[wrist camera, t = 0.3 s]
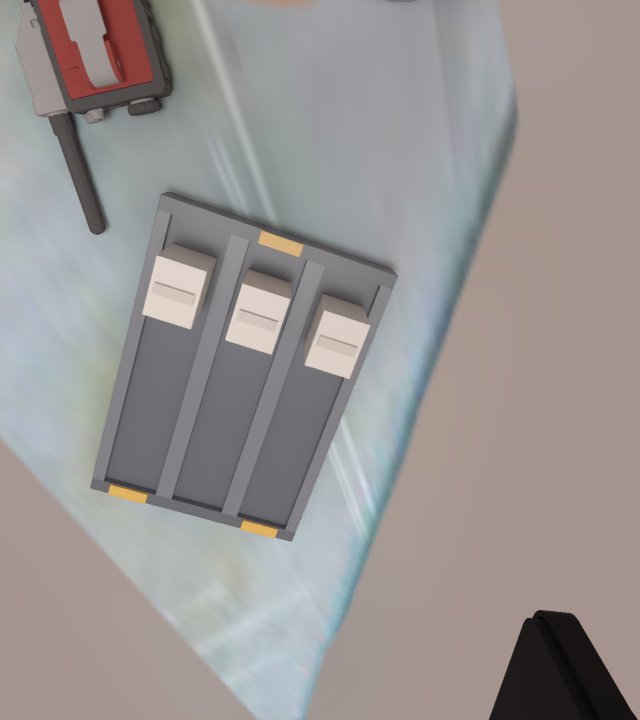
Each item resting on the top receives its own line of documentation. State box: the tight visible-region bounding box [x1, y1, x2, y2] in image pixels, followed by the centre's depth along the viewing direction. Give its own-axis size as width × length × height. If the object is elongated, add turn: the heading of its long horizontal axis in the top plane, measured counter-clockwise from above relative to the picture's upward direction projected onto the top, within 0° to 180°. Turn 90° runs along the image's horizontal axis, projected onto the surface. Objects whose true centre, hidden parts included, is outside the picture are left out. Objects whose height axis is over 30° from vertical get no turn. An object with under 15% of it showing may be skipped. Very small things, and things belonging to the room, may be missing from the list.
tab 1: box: [142, 243, 217, 329], centre depth 38 cm, size 4×3×5 cm
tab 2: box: [225, 269, 292, 355], centre depth 39 cm, size 4×3×5 cm
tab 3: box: [304, 293, 370, 379], centre depth 40 cm, size 4×3×5 cm
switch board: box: [90, 192, 398, 542], centre depth 44 cm, size 24×17×2 cm
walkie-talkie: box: [15, 0, 173, 235], centre depth 35 cm, size 9×4×20 cm
